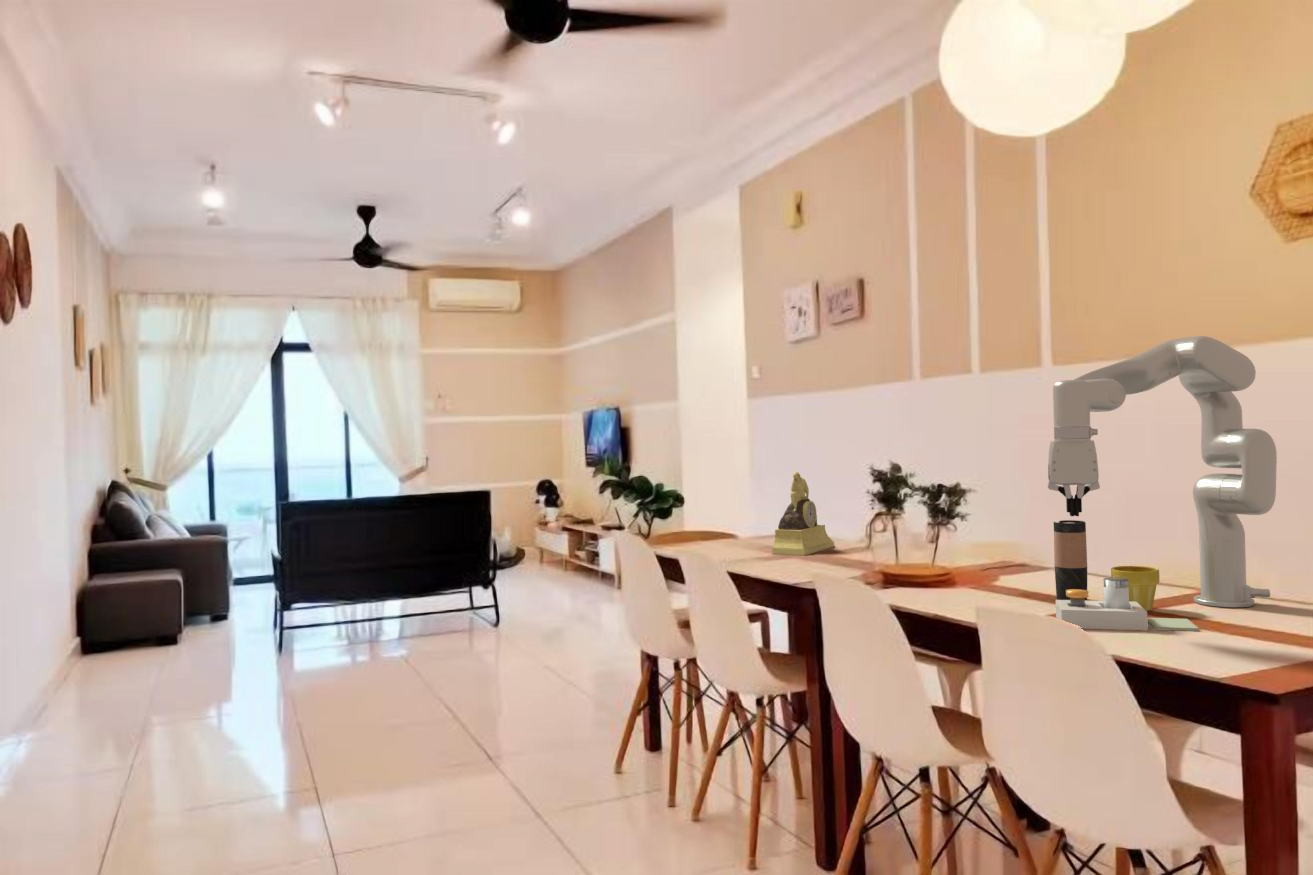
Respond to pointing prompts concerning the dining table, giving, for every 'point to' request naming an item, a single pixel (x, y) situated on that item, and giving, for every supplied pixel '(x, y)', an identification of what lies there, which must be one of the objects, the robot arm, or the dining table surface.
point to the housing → (1102, 616)
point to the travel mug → (1070, 557)
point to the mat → (1173, 624)
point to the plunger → (1077, 597)
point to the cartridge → (1116, 593)
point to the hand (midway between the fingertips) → (1074, 515)
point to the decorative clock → (800, 525)
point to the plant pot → (1139, 583)
